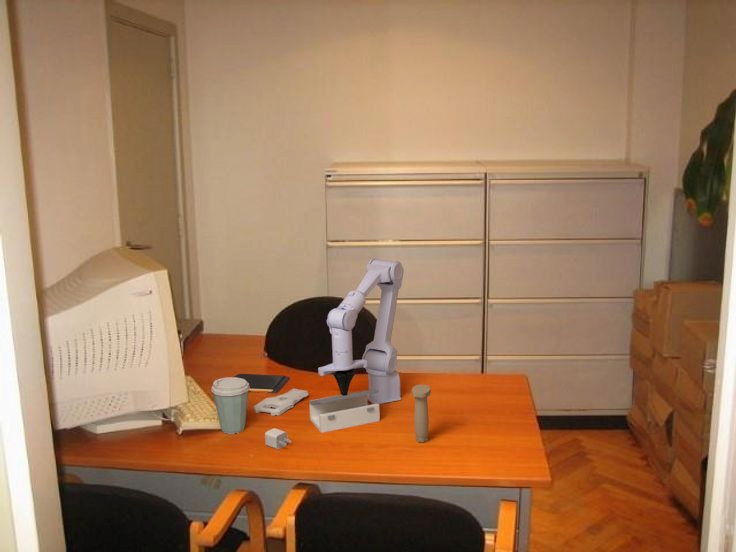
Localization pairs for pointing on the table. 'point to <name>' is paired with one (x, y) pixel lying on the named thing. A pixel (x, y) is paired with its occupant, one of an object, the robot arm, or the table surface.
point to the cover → (343, 396)
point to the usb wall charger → (276, 438)
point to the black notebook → (264, 382)
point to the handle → (421, 412)
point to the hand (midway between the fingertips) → (343, 394)
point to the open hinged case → (343, 413)
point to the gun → (280, 402)
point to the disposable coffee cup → (231, 403)
